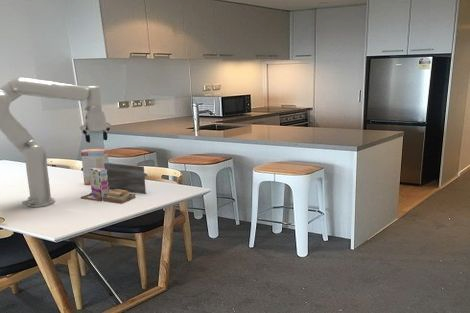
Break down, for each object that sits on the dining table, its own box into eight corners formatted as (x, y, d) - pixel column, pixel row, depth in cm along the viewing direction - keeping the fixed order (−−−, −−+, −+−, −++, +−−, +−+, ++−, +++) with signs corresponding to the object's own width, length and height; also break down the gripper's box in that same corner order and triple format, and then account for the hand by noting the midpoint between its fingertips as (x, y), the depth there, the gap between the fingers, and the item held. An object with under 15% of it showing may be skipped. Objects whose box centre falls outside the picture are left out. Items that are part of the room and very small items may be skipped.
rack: (121, 206, 200) (118, 175, 197) (81, 200, 211) (77, 171, 208) (145, 195, 218) (143, 166, 214) (107, 190, 228) (105, 162, 225)
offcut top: (119, 197, 204) (119, 193, 203) (107, 195, 207) (107, 192, 207) (127, 194, 209) (127, 190, 208) (116, 192, 212) (115, 189, 212)
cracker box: (110, 182, 246) (107, 148, 241) (106, 185, 240) (103, 150, 236) (88, 182, 247) (85, 148, 243) (83, 184, 241) (80, 150, 237)
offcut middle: (120, 202, 203) (120, 198, 203) (106, 199, 207) (106, 196, 207) (129, 198, 209) (129, 194, 209) (116, 196, 213) (115, 192, 213)
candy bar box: (110, 200, 211) (107, 169, 208) (101, 202, 208) (98, 171, 204) (100, 195, 219) (97, 166, 215) (91, 198, 215) (88, 168, 212)
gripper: (81, 110, 207) (84, 143, 211) (112, 108, 219) (115, 139, 223) (75, 110, 212) (78, 142, 216) (105, 107, 224) (108, 138, 228)
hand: (96, 141), depth 219 cm, fingers open, 9 cm apart
